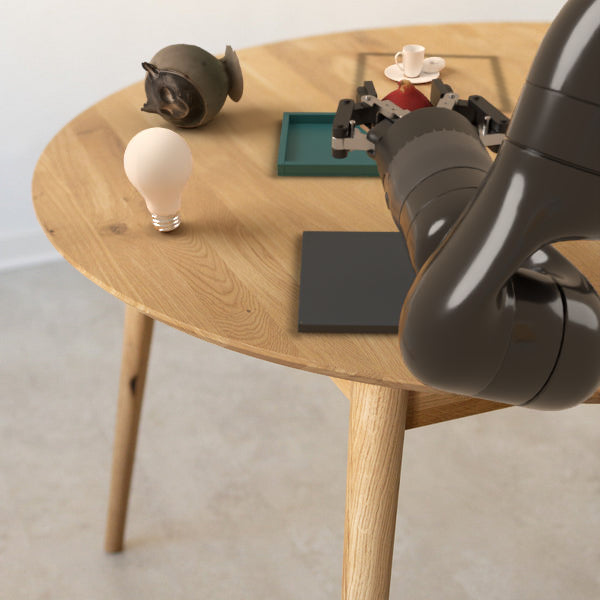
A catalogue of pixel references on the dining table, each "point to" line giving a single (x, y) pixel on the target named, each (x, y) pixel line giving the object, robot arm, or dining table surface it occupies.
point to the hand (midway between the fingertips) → (400, 91)
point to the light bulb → (159, 173)
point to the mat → (352, 282)
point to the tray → (317, 149)
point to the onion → (408, 97)
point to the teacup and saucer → (415, 66)
